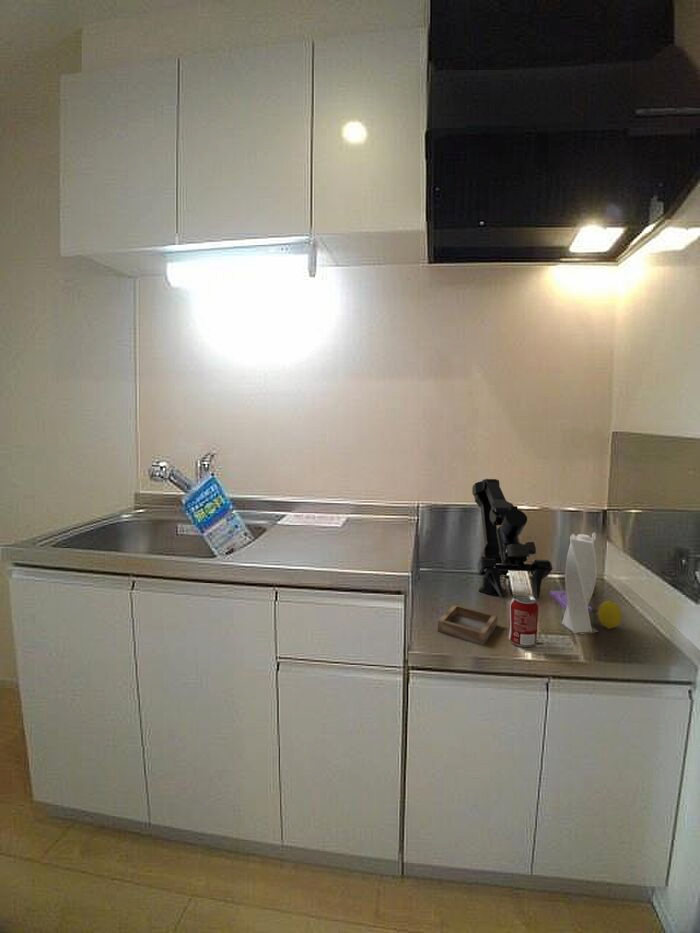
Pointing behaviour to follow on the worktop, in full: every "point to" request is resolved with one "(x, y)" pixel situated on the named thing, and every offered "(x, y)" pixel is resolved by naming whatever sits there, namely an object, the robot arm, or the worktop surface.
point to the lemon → (609, 614)
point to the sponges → (562, 598)
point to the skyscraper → (579, 583)
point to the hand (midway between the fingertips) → (519, 597)
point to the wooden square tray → (467, 624)
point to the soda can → (523, 620)
